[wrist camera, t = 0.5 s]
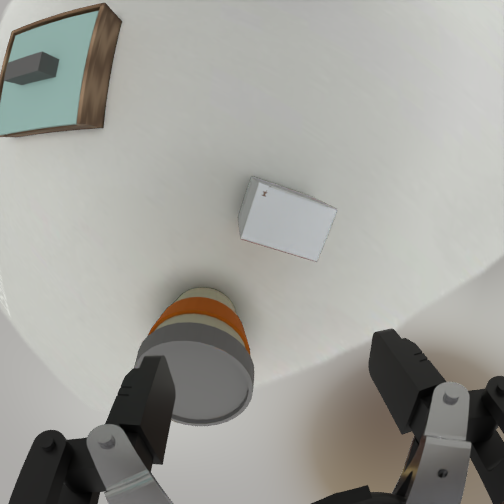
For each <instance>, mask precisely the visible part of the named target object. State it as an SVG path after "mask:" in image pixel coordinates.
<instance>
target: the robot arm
mask: <svg viewBox="0 0 504 504" xmlns="http://www.w3.org/2000/svg"><path fill="white" fill-rule="evenodd" d="M369 372H370V375H371V378H372V380H373V381H374V383H375V385H376V387H377V388H378V390H379V392H380V394H381V396H382V398H383V400H384V402H385V403H386V405H387V407H388V409H389V411H390V413H391V415H392V417H393V419H394V420H395V422H396V424H397V426H398V428H399V430H400V432H401V434H405V433H408V432H411V431H412V432H413V433H414V435H415V436H414V438H413V440H412V443H411V447H410V450H409V453H408V456H407V459H406V462H405V465H404V468H403V471H402V473H401V476H400V478H399V480H398V482H397V484H396V486H395V488H394V490H393V492H392V494H391V493H382V492H370V490H369V487H368V485H367V486H363V487H359V488H356V489H352V490H348V491H344V492H340V493H335V494H333V495H330V496H328V497H326V498H324V499H321V500H319V501H316V502H314V503H311V504H460V503H461V499H462V495H463V491H464V486H465V481H466V476H467V471H468V465H469V459H470V458H471V460H472V462H473V464H474V466H475V468H476V470H477V471H478V473H479V475H480V478H481V479H482V481H483V483H484V485H485V488H486V490H487V492H488V494H489V496H490V498H491V500H492V503H493V504H504V442H503V440H502V438H501V437H500V435H499V434H498V432H497V431H496V429H497V428H498V426H499V427H500V429H501V430H502V432H503V433H504V377H503V376H496V377H493V378H491V379H490V380H489V382H488V384H487V386H486V388H485V389H480V390H472V391H467V389H466V388H465V387H464V386H462V385H460V384H458V383H455V382H446V381H445V379H444V378H443V377H442V376H441V374H440V373H439V372H438V371H437V369H436V368H435V367H434V366H433V365H432V363H431V362H430V361H429V360H427V357H426V356H425V355H424V353H423V354H422V351H421V350H420V349H419V347H418V346H417V345H416V344H415V343H413V342H411V341H410V340H408V339H406V338H403V339H401V337H400V336H399V335H398V334H397V332H396V331H395V330H394V329H387V330H383V331H378V332H375V333H374V334H373V338H372V345H371V351H370V358H369ZM175 398H176V391H175V385H174V382H173V379H172V376H171V373H170V369H169V366H168V363H167V360H166V357H165V356H164V355H152V356H144V358H143V360H142V363H141V365H140V368H133V369H132V370H131V371H130V372H129V373H128V374H127V375H126V376H125V378H124V380H123V382H122V385H121V388H120V389H119V392H118V396H116V399H115V401H114V404H113V406H112V409H111V411H110V414H109V416H108V419H107V421H106V423H105V424H104V425H100V426H98V427H96V428H95V429H93V430H92V431H91V432H90V433H89V435H88V437H87V438H82V439H72V440H66V438H65V437H64V436H63V435H62V433H60V432H59V431H56V430H48V431H44V432H42V433H41V434H39V435H38V436H37V437H36V438H35V440H34V442H33V444H32V446H31V449H30V451H29V453H28V455H27V458H26V460H25V462H24V465H23V467H22V469H21V472H20V474H19V477H18V479H17V482H16V484H15V488H14V490H13V492H12V495H11V498H10V501H9V504H98V499H99V495H100V492H103V491H106V492H105V497H106V499H107V501H108V503H109V504H173V503H172V501H171V500H170V499H169V497H168V496H167V495H166V493H165V492H164V491H163V489H162V488H161V486H160V485H159V484H158V482H157V481H156V479H155V478H154V476H153V475H152V473H151V468H152V464H161V465H162V464H163V459H164V454H165V449H166V443H167V438H168V433H169V428H170V423H171V418H172V413H173V408H174V403H175Z"/></svg>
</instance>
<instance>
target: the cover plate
mask: <svg viewBox="0 0 504 504" xmlns="http://www.w3.org/2000/svg"><path fill="white" fill-rule="evenodd" d="M98 13H99V11H95V12H90V13H86V14H81V15H77V16H73V17H70V18H66V19H62V20H59V21H56V22H52V23H49V24H46V25H43V26H40V27H37V28H34V29H32V30H29V31H26V32H23V33H21V34H18V35H16V36H15V39H14V43H13V46H12V50H11V53H10V57H9V61H8V63H7V68H6V72H5V77H4V84H3V89H2V95H1V101H0V136H1V135H6V134H11V133H17V132H23V131H29V130H35V129H42V128H50V127H58V126H67V125H77V115H78V107H79V100H80V93H81V87H82V81H83V75H84V70H85V65H86V60H87V55H88V51H89V46H90V42H91V38H92V34H93V30H94V27H95V23H96V19H97V16H98Z"/></svg>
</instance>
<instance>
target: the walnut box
mask: <svg viewBox="0 0 504 504" xmlns="http://www.w3.org/2000/svg"><path fill="white" fill-rule="evenodd" d="M95 11H99V13H98V16H97V19H96V23H95V27H94V30H93V34H92V38H91V42H90V46H89V51H88V55H87V60H86V65H85V70H84V75H83V81H82V87H81V93H80V100H79V107H78V115H77V125H67V126H58V127H50V128H42V129H35V130H29V131H23V132H17V133H11V134H6V135H1V136H0V137H21V136H28V135H34V134H42V133H50V132H59V131H68V130H80V129H93V128H103V124H104V115H105V107H106V99H107V92H108V86H109V80H110V74H111V68H112V63H113V58H114V53H115V48H116V44H117V39H118V35H119V31H120V27H121V23H122V21H121V20H120V19H119V18H118V16H117V15H116V14H115V13H114V12H113V11H112V10H111V9H110V8H109V6H108V5H107V4H106V3H101V4H96V5H92V6H87V7H83V8H79V9H75V10H72V11H68V12H64V13H61V14H58V15H55V16H51V17H48V18H45V19H42V20H40V21H37V22H34V23H31V24H29V25H26V26H23V27H21V28H18V29H16V30H14V31H12V33H11V36H10V39H9V43H8V46H7V50H6V54H5V57H4V61H3V66H2V70H1V74H0V101H1V95H2V89H3V84H4V77H5V72H6V68H7V63H8V61H9V57H10V53H11V50H12V46H13V43H14V39H15V36H16V35H18V34H21V33H23V32H26V31H29V30H32V29H34V28H37V27H40V26H43V25H46V24H49V23H52V22H56V21H59V20H62V19H66V18H70V17H73V16H77V15H81V14H86V13H90V12H95Z"/></svg>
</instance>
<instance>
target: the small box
mask: <svg viewBox="0 0 504 504" xmlns="http://www.w3.org/2000/svg"><path fill="white" fill-rule="evenodd" d="M336 213H337V209H336V208H334V207H332V206H330V205H328V204H326V203H324V202H322V201H320V200H318V199H316V198H314V197H312V196H309V195H306V194H303V193H301V192H298V191H295V190H292V189H289V188H286V187H283V186H280V185H277V184H274V183H272V182H269V181H266V180H262V179H259V178H256V177H253V176H252V177H251V179H250V182H249V185H248V188H247V191H246V194H245V197H244V200H243V203H242V206H241V209H240V212H239V215H238V223H239V232H240V238H241V239H242V240H245V241H249V242H252V243H255V244H259V245H262V246H265V247H269V248H272V249H275V250H279V251H282V252H285V253H289V254H292V255H295V256H298V257H302V258H305V259H308V260H312V261H315V262H317V261H318V258H319V256H320V254H321V251H322V249H323V246H324V244H325V241H326V239H327V236H328V234H329V231H330V229H331V226H332V224H333V221H334V218H335V216H336Z"/></svg>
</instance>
